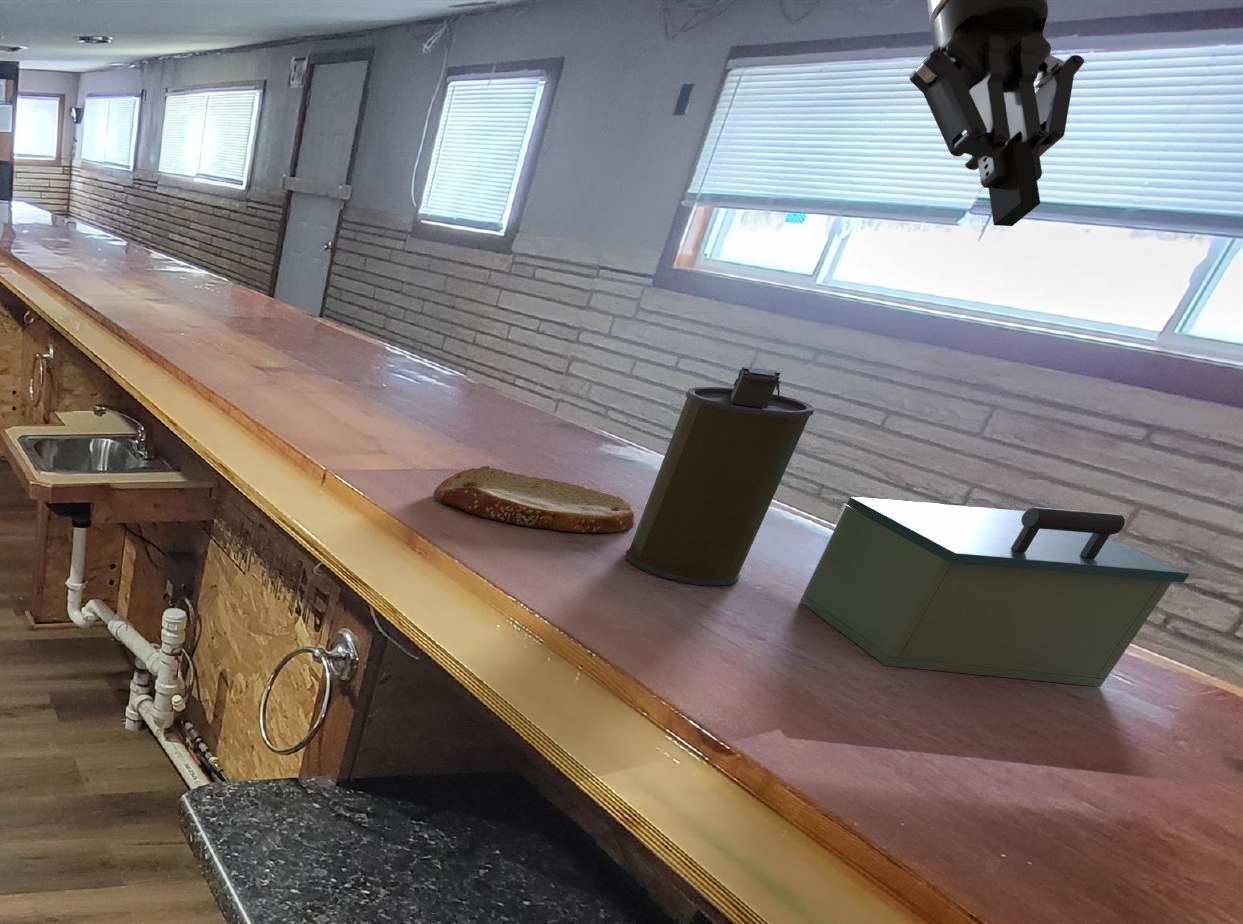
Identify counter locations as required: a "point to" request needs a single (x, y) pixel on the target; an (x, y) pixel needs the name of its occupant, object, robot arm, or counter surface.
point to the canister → (718, 479)
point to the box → (973, 609)
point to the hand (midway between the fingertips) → (1016, 214)
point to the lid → (1019, 538)
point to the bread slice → (535, 501)
